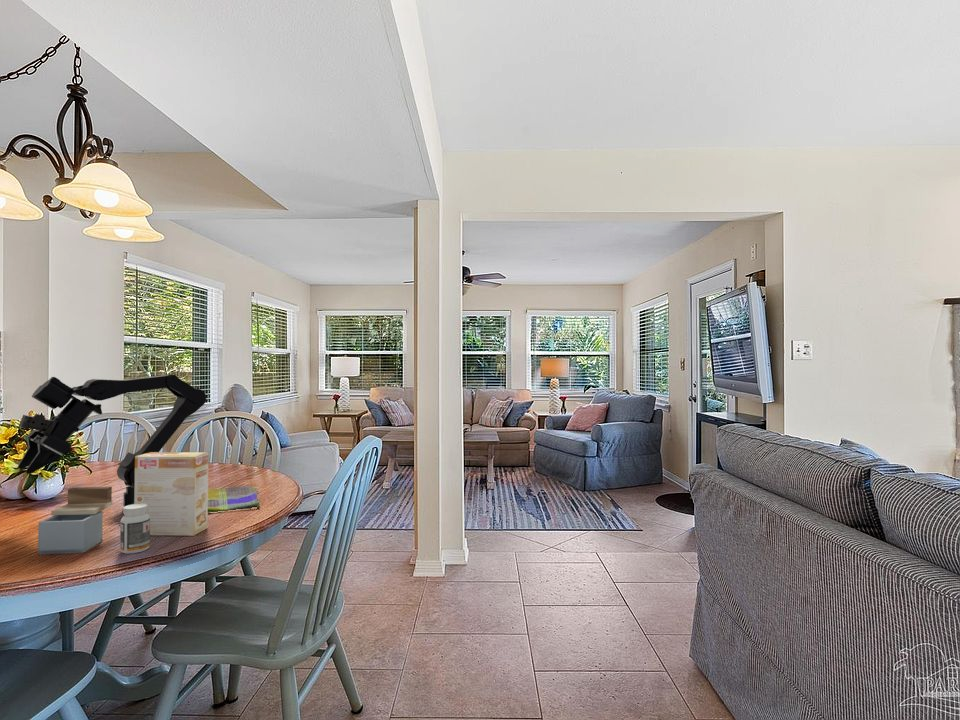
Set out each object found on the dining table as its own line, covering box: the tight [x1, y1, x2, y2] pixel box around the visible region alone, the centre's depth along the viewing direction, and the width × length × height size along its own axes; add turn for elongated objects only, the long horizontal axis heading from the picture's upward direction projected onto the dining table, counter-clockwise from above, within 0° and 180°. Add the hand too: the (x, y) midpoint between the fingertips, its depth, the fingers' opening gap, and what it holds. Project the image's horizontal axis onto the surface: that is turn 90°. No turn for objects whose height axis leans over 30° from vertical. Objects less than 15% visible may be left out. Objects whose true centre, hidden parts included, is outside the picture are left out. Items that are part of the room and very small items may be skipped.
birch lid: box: [50, 486, 113, 516], centre depth 128 cm, size 8×9×4 cm
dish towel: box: [208, 485, 260, 513], centre depth 165 cm, size 18×24×3 cm
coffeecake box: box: [134, 451, 209, 537], centre depth 136 cm, size 15×7×20 cm, turn 90°
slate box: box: [37, 510, 104, 555], centre depth 123 cm, size 8×9×7 cm
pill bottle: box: [119, 504, 151, 555], centre depth 122 cm, size 6×6×10 cm
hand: (23, 470), depth 137 cm, fingers open, 9 cm apart
